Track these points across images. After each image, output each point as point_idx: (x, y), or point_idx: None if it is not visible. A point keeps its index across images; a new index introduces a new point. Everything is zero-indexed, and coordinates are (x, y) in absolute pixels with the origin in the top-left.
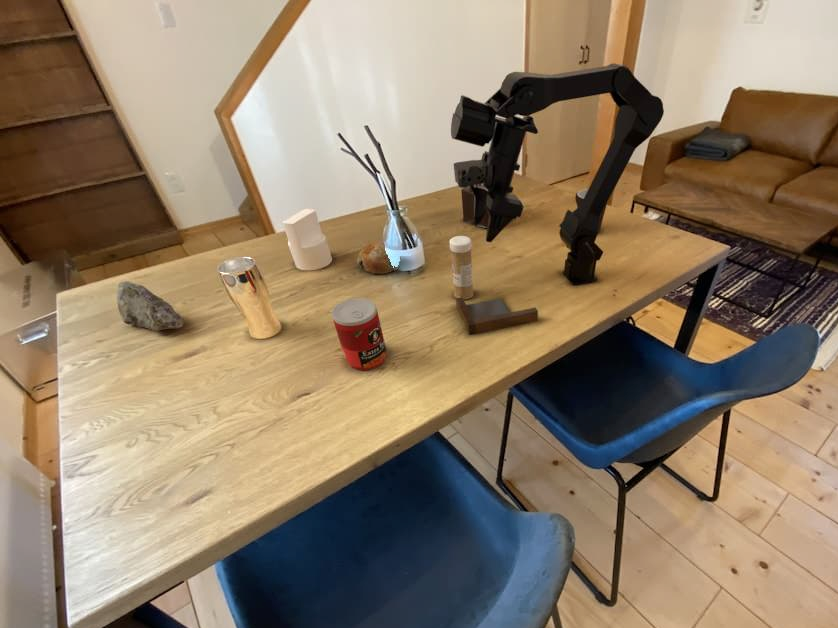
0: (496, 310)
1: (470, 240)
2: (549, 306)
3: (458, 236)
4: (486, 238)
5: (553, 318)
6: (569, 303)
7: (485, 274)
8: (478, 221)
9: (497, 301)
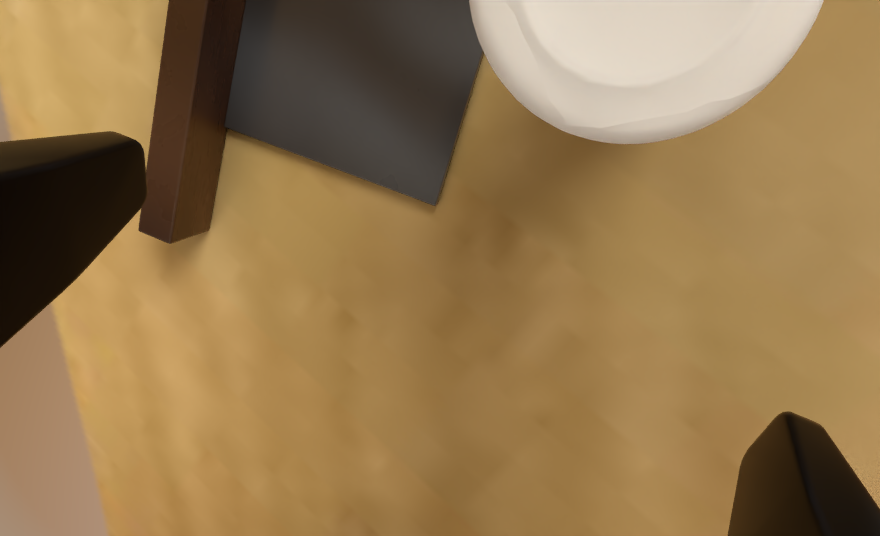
0: (347, 99)
1: (531, 104)
2: (248, 349)
3: (776, 10)
4: (82, 138)
5: (164, 291)
6: (223, 432)
7: (765, 324)
8: (749, 481)
9: (419, 164)
